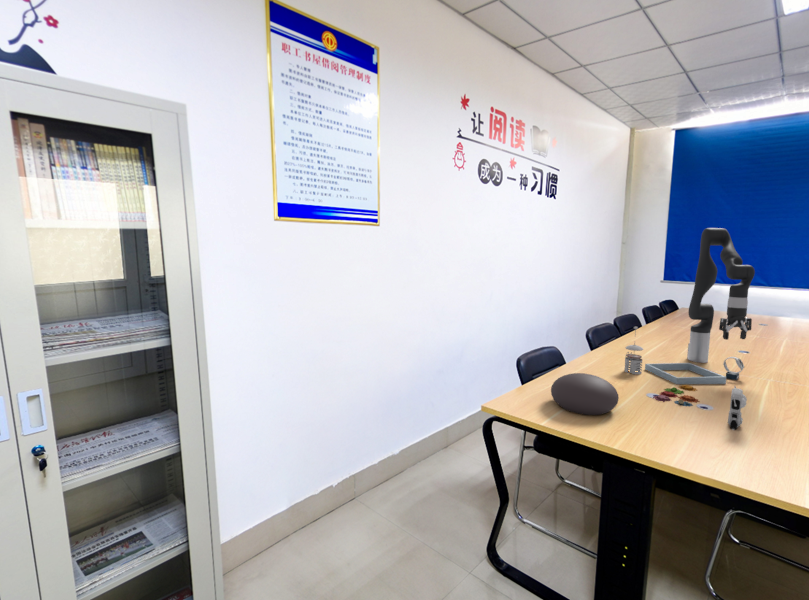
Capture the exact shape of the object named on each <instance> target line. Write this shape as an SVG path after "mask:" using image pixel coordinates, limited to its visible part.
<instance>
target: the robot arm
mask: <svg viewBox="0 0 809 600" xmlns="http://www.w3.org/2000/svg"><path fill="white" fill-rule="evenodd" d="M700 237H701V238H700V245H699V247H700V248H699V258H698V263H697V267H696V274H695V280H694V287H693V291H692V296H691V299H690V303H689V307H688V317H689V318H690V320H693V321H694V320H696V321H700V322H698V323H696V324H693V325H691V326H690V334H689V342H688V343H687V344H688V346H687V357H686V359H687V360H688V361H690V362H694V363H701V364H702V363H704V364H706V363H708V362H709V356H710V355H709V353H710V351H709V350H710V343H711V342H710V340H711V332H712V329H713V323H714V315H715V310H714V306H713V305H712V304H711V303H702V300H703V298H704V296H705V295H706V294H707V293H708V292H709V290H710V289H711V288H712V287H713V286H714V285H715V283H716V282H717V278H718V277H717V276H718V267H717V265H716V263H715V262H714V260H713V258H712V256H711V252H710V251H711V250H710V249H711V246H721V247H723V248H722V250H721V252H720V254H719V255H720V256H719V257H720V260H721V261H722V263H723V264H724V266H725V271H726V274H725V275H726V277H727V278H728V279H729V280H733V281H734V280H739V281H740V280H741V281H740V282H739V283H736V284H731V285H730V286H729V291H728V293H729V294H728V299H727V308H726V316H727V318H724V317H721V318H720V319H719V326H718V330H720V331H722V333H723V334H722V338H723V340H729V338H730V330H731V329H733V328H739V329H740V335H739V336H740V338H739V339H741V340H746V339H747V332H749V331H752V321H753V320H752V318H751V317H747V314H748V303H749V302H748V301H749V300H748V296H749V288H750V286H751V283H752V282H753V279H754V277H755V274H756V271H755V267H753V266H752V265H750V264H743V262H744V261H743V259H742V257H741V256H740V254H739V253H738V251H736V248H735V246H734V243H733V241H732V238H731V234H730V233H729V231H728V230H727V229H726V228H725V227H724V228H723V227H722V228H721V227H719V228H718V227H707V228H704V229H703V231H702V233H701V236H700Z"/></svg>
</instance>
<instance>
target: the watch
mask: <svg viewBox="0 0 809 600" xmlns="http://www.w3.org/2000/svg"><path fill="white" fill-rule="evenodd" d="M729 359H734V360H735V364H736V365H737V366H738V368H739V369H740V371H739V370H738V371H737V372H736V371H732V370H730V369H729V367H728V365H727V362H726V361H727V360H729ZM722 365H723V367H724V369H725V371H726V373H725V377H726V380H732V381H738V380H739V378H740V373H741V372H742V371H743V370H744V369H745V365H744V363H743V361H742V359H740V358H739V357H736V356H729V357H727V358H725V359H724V360H723V364H722Z"/></svg>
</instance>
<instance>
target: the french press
mask: <svg viewBox="0 0 809 600" xmlns="http://www.w3.org/2000/svg"><path fill="white" fill-rule="evenodd" d="M633 329H634V330H635V332H634V336H636V335H637V334H636V332H637V330H638V329H639V327H638V326H633ZM625 349H626V350H629V351H633V352H637V351H638V352H641V351H643V350H644V348H643V347H642V346H640V345H637V344H636V342H634V344H629V345H627V346H625ZM629 351H627V352H626V354H625V357H624V370H623V371H624V372H625V373H626V372H627V373H626V374H630V373H632V374H631V375H641V374H642V371H643V369H642V368H643V358H642V355H640V354H636V353H633V352H629ZM628 370H630V372H628ZM635 371H638V372H635Z"/></svg>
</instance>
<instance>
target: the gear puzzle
mask: <svg viewBox="0 0 809 600" xmlns="http://www.w3.org/2000/svg"><path fill="white" fill-rule="evenodd" d="M677 388H678V389H677ZM680 389H681V390H680ZM663 390H664V391H661V392H659V394H658V395H655V396H652V397H653V398H652V399H654V398H655V399H656V400H655V401H657V402H659V401H663V402H662V403H665V402H672V398H674V399H675V398H678V400H674V401H673V403H674V404H676V405H679V406H682V407H689V408H690V407H693V406H694V405H693V403H695V404H697V403H700V400H699V399H697V398H695V396H692V395H688V394H687V395H686V394H685V392H684V391H687V392H688V391H689V392H696V391H697V392H698V391H699V390H698V389H697V388H695V387H694V386H693V385H691V384H681V385H679V386H677V387H671V388H667V387H666V388H663ZM682 394H684V395H682ZM678 395H679V396H678ZM680 395H681V396H680Z"/></svg>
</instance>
